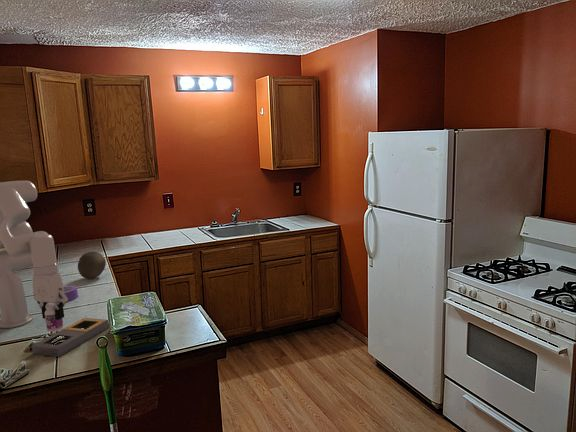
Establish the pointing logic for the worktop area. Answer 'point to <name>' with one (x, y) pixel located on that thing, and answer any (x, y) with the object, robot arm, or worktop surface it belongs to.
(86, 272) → the cantaloupe
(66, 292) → the tape roll
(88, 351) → the worktop surface
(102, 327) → the hole rail
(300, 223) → the worktop surface
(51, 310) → the pill bottle
